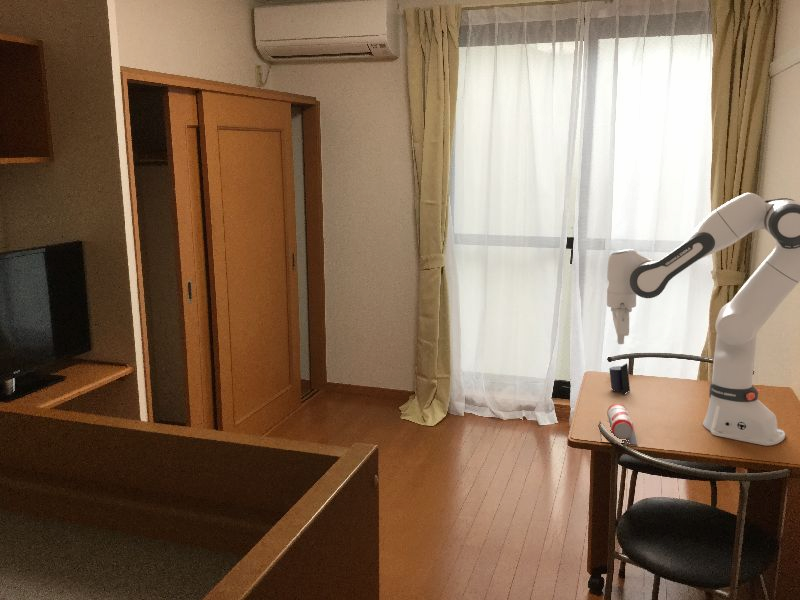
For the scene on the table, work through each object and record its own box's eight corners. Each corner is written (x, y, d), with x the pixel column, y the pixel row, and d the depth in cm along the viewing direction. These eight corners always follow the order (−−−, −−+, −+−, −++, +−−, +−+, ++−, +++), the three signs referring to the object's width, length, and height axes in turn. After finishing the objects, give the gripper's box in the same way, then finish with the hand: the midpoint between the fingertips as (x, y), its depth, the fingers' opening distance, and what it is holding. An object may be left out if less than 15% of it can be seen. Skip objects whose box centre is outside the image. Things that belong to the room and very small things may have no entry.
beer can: (605, 403, 218) (610, 422, 203) (626, 401, 217) (632, 420, 202) (608, 422, 219) (613, 442, 204) (628, 420, 218) (635, 440, 203)
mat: (599, 421, 219) (599, 420, 219) (632, 424, 217) (632, 423, 217) (601, 442, 203) (601, 441, 203) (637, 445, 201) (637, 444, 201)
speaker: (635, 391, 247) (633, 363, 246) (624, 395, 244) (622, 367, 243) (618, 388, 253) (617, 360, 252) (607, 391, 251) (605, 363, 249)
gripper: (634, 307, 207) (633, 351, 209) (629, 295, 226) (628, 336, 229) (612, 306, 208) (611, 351, 211) (609, 295, 228) (608, 335, 230)
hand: (620, 343), depth 220 cm, fingers closed
